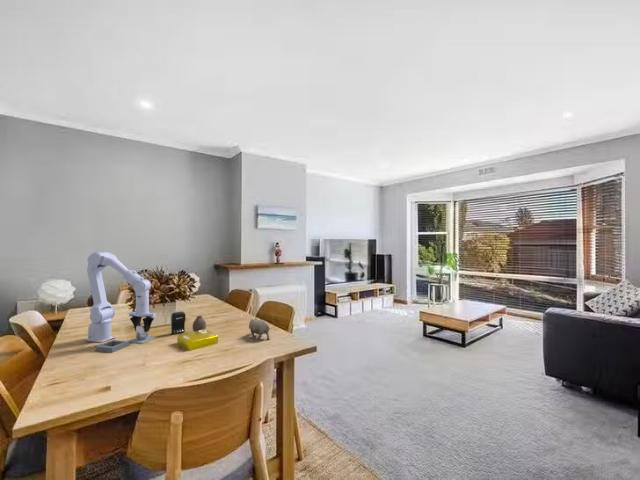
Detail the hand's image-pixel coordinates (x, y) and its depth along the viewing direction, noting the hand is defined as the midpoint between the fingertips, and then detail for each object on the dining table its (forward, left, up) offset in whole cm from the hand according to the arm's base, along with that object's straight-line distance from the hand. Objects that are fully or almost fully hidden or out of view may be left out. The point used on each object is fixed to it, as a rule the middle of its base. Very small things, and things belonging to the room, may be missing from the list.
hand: (142, 331), depth 153 cm
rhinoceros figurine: (+54, +18, -5) cm, 57 cm away
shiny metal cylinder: (0, 0, -3) cm, 3 cm away
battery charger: (+10, +14, -5) cm, 18 cm away
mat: (0, 0, -4) cm, 4 cm away
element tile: (+30, +2, -5) cm, 30 cm away
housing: (-4, -13, -4) cm, 14 cm away
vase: (+20, +18, -5) cm, 27 cm away
